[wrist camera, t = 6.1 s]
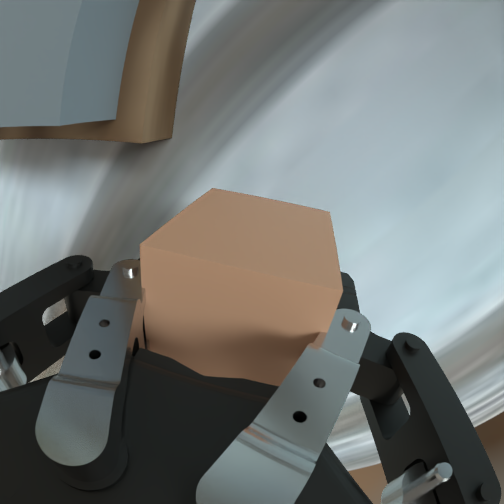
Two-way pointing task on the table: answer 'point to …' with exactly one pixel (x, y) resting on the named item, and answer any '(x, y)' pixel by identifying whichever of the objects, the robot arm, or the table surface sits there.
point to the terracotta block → (240, 285)
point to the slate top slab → (62, 60)
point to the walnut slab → (137, 81)
